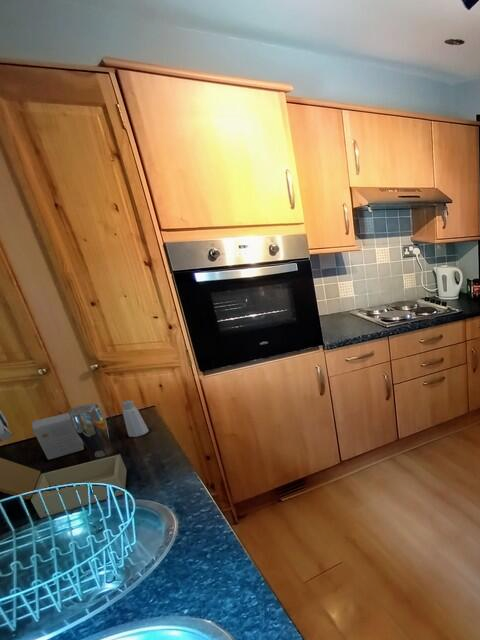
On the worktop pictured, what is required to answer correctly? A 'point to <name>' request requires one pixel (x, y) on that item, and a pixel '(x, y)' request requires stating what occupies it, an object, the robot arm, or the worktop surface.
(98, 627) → the worktop surface
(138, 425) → the pepper shaker
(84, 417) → the beer glass
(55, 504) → the open cream tray
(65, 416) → the small box
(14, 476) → the cover
